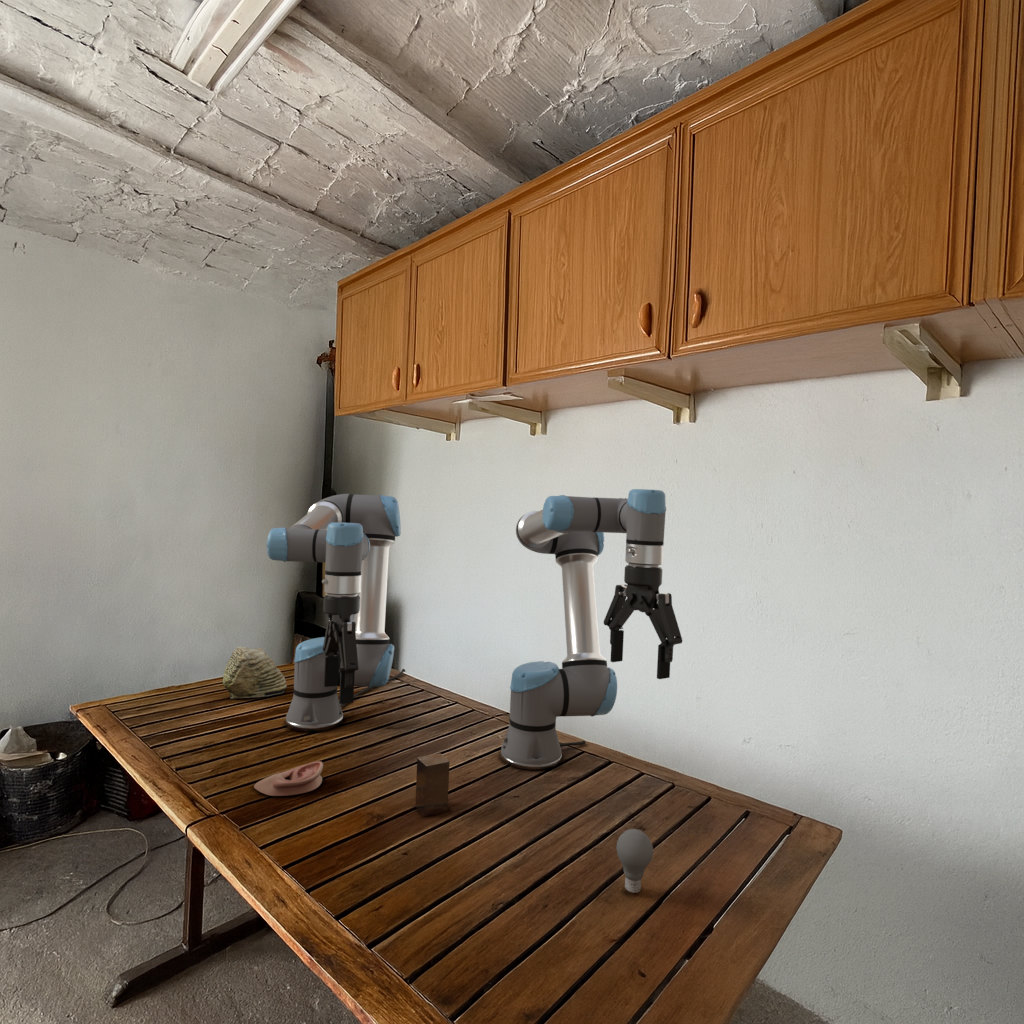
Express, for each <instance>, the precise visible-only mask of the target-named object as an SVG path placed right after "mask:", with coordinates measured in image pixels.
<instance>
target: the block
mask: <svg viewBox="0 0 1024 1024" xmlns="http://www.w3.org/2000/svg"><path fill="white" fill-rule="evenodd" d="M450 763H451V761H450V760H449V759H448V758H446V757H445V756H444V755H443V754H442V753H440V752H438V753H433V754H428V755H423V756H422V755H421V756H418V757H416V779H415V802H414V803H415V804H414V807H415V808H416V809H417V810H418V811H419V813H420V814H421V815H422V816H423V817H424V818H425V817H429V816H433V815H436V814H441V813H444V812H448V810H449V808H448V807H449V805H448V804H449V784H450Z"/></svg>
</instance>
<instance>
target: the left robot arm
mask: <svg viewBox="0 0 1024 1024" xmlns="http://www.w3.org/2000/svg"><path fill="white" fill-rule="evenodd" d="M401 529H402V526H401V513H400V507H399V502H398V500H397V498H396V497H395V496H392V495H383V494H353V493H340V494H336V495H331V496H328V497H325V498H322V499H320V500H318V501H317V502H315V503H313V504H312V505H311V506H310V507H309V508H308V510H307V512H306V515H304V516H303V517H301V518H300V519H299V520H297V522H295V523H294V524H293V525H291V526H289V527H285V526H283V527H274V528H271V529H270V530H269V532H268V535H267V539H266V553H267V556H268V558H269V559H270V560H272V561H278V562H284V563H286V562H295V563H296V562H300V563H301V562H302V563H325V568H324V569H325V570H324V578H323V579H322V580H321V583H322V584H323V585H324V591H323V592H324V593H325V594H326V595H324V597H323V608H322V610H323V611H322V612H323V613H324V614H326V615H327V622H326V628H325V634H324V636H321V637H315V638H310V639H307V640H304V641H302V642H300V643H298V645H296V648H295V655H294V660H293V662H294V672H293V695H292V696H293V697H292V699H291V702H290V704H289V708H288V711H287V713H286V715H285V726H286V728H287V729H289V730H291V731H294V732H295V731H296V732H301V733H316V732H325V731H329V730H332V729H335V728H337V727H339V726H340V725H342V723H343V722H344V713H343V709H342V707H344V706H346V705H347V704H354V699H355V698H357V697H358V696H360V695H362V694H363V693H366V692H367V691H370V690H371V689H374V688H376V687H377V688H379V687H384V686H385V685H386V684H388V682H390V681H393V680H395V679H397V678H398V677H400V676H402V675H403V674H404V673H406V669H405V668H402V669H401V671H400V673H397V674H396V675H394V676H392V677H390V675H391V671H392V666H393V661H394V654H395V645H394V644H392V643H390V637H389V636H388V634H386V632H385V628H386V613H387V612H386V609H387V595H388V577H389V559H390V548H391V547H392V546H393V545H394V544H395V543H396V537H397V538H398V537H400V536H401V534H402V530H401ZM352 615H354V618H353V621H351V617H352ZM338 687H339V695H338ZM355 687H362V688H363V687H365V688H364V689H362V690H360V691H358V692H356V693H355Z"/></svg>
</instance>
